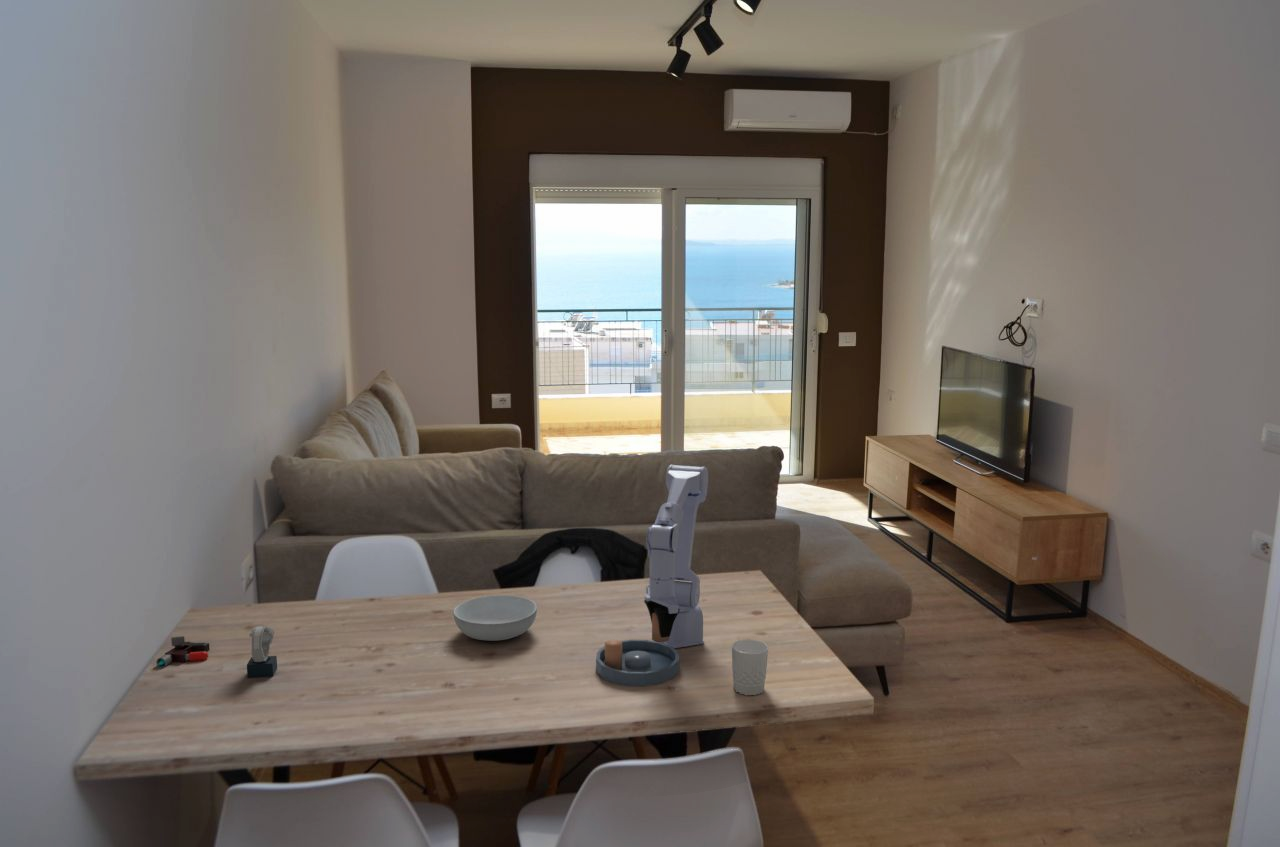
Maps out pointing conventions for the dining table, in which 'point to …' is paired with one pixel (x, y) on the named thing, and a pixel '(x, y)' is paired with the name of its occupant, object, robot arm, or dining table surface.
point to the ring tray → (641, 663)
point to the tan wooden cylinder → (613, 654)
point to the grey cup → (749, 666)
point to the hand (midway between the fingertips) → (661, 632)
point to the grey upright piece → (261, 653)
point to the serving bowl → (495, 617)
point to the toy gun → (184, 652)
